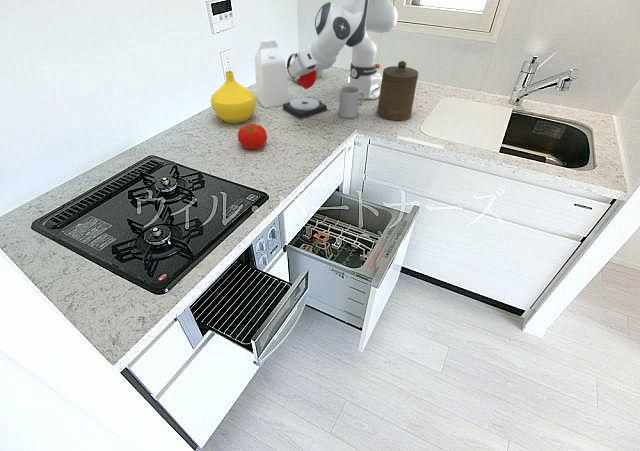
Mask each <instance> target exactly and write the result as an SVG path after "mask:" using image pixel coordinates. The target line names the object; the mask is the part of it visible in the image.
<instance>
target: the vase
mask: <svg viewBox="0 0 640 451" xmlns="http://www.w3.org/2000/svg"><path fill="white" fill-rule="evenodd" d="M210 106H211V108H212V110H213V111H214V113H215V114H216V116H217V117H218V118H219V119H220V120H222V121H224V122H226V123H228V124H242V123H245V122H246V121H248V120H249V119H250V118H251V117H252V115H253V114H254V112H255V110H256V106H257V97H256V95H255V94H254V92H253V91H251V90H250V89H248V88H246V86H244V85H242V84H240V83H239V82H237V81H236V80H235V77H234V71H233V70H227V71H225V82H224V83H223V84H222V85H221V86H220V87H219V88H218V89H217V90H216V91H215V92H213V94H211V96H210Z"/></svg>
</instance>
